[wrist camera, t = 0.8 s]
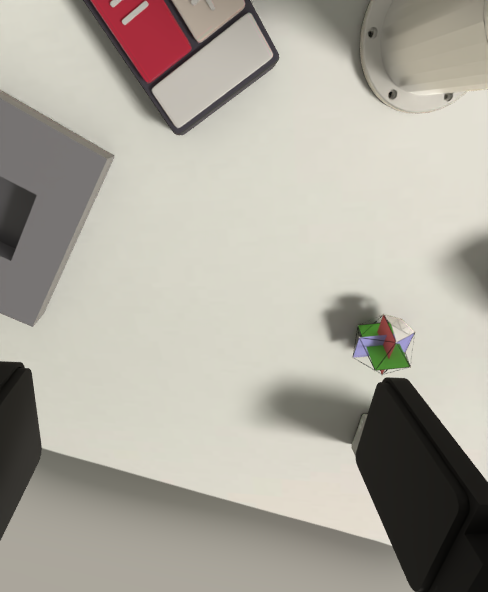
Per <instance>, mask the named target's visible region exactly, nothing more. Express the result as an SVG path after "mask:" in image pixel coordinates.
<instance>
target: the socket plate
mask: <svg viewBox="0 0 488 592" xmlns="http://www.w3.org/2000/svg"><path fill="white" fill-rule="evenodd" d="M113 159H114V155H112V154H110V153H109V152H107V151H105V150H103V149H102V148H100V147H98V146H96V145H95V144H93V143H91V142H90V141H88V140H86V139H84V138H83V137H81V136H79V135H77V134H76V133H74V132H72V131H70V130H69V129H67V128H65V127H63V126H62V125H60V124H58V123H57V122H55V121H53V120H51V119H50V118H48V117H46V116H44V115H43V114H41V113H39V112H37V111H36V110H34V109H32V108H31V107H29V106H27V105H25V104H24V103H22V102H20V101H18V100H17V99H15V98H13V97H11V96H10V95H8V94H6V93H5V92H3V91H1V90H0V313H1V314H3V315H6V316H8V317H11V318H13V319H15V320H18V321H20V322H22V323H25V324H27V325H30V326H32V327H33V326H34V325H35V323H36V322H37V321H38V320H39V319H40V318H41V316H42V315H43V314H44V312H45V310H46V307H47V305H48V303H49V301H50V298H51V296H52V294H53V292H54V290H55V287H56V285H57V283H58V281H59V279H60V276H61V274H62V272H63V270H64V267H65V265H66V263H67V261H68V259H69V256H70V254H71V252H72V250H73V247H74V245H75V243H76V241H77V239H78V236H79V234H80V232H81V230H82V227H83V225H84V223H85V221H86V219H87V216H88V214H89V212H90V210H91V207H92V205H93V203H94V201H95V199H96V196H97V194H98V192H99V190H100V187H101V185H102V183H103V181H104V179H105V176H106V174H107V172H108V170H109V168H110V165H111V163H112V161H113Z"/></svg>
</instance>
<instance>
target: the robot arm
mask: <svg viewBox="0 0 488 592" xmlns="http://www.w3.org/2000/svg"><path fill="white" fill-rule="evenodd" d="M368 32H371V33H372V36H371V38H369V36H368ZM360 56H361V64H362V68H363V72H364V75H365V78H366V80H367V82H368V84H369V86H370V88H371V89H372V91H373V92H374V93H375V95H376V96H377V97H378V98H379V99H380V100H381V101H382V102H383V103H385V104H386V105H387V106H389V107H391V108H393V109H395V110H398V111H401V112H405V113H429V112H432V111H436V110H439V109H442V108H444V107H446V106H448V105H450V104H452V103H454V102H455V101H456V100H458V99H459V98H460V97H462V96H463V95H464V94H465V93H466V92H467V91H477V90H488V0H371V1H370V4H369V6H368V9H367V11H366V14H365V17H364V21H363V25H362V29H361V38H360ZM389 92H390V93H391V97H390V98H389V97H388V94H389ZM444 95H446V97H445V99H444ZM41 449H42V447H41V439H40V431H39V424H38V416H37V409H36V402H35V394H34V387H33V379H32V373H31V370H30V369H29V368H25V367H24V365H23V363H21V362H2V361H0V540H1V538H2V536H3V534H4V532H5V530H6V528H7V526H8V524H9V522H10V519H11V518H12V516H13V513H14V511H15V509H16V507H17V505H18V503H19V501H20V499H21V497H22V495H23V493H24V491H25V489H26V487H27V485H28V483H29V481H30V478H31V477H32V475H33V473H34V470H35V468H36V466H37V464H38V462H39V460H40V456H41ZM356 463H357V466H358V468H359V471H360V473H361V475H362V477H363V480H364V482H365V484H366V487H367V489H368V491H369V493H370V496H371V498H372V500H373V503H374V505H375V507H376V510H377V512H378V514H379V516H380V519H381V521H382V523H383V526H384V528H385V530H386V532H387V535H388V537H389V539H390V542H391V544H392V546H393V549H394V551H395V553H396V555H397V558H398V560H399V562H400V565H401V567H402V569H403V571H404V574H405V576H406V578H407V581H408V583H409V585H410V586H411V588H412V589H413V590H414V591H415V592H488V482H487V481H486V479H485V478H484V477H483V476H482V474H481V473H480V472H479V470H478V469H477V468H476V467H475V465H474V464H473V463H472V461H471V460H470V459H469V458H468V456H467V455H466V454H465V452H464V451H463V450H462V448H461V447H460V446H459V445H458V443H457V442H456V441H455V439H454V438H453V437H452V436H451V434H450V433H449V432H448V430H447V429H446V428H445V427H444V425H443V424H442V423H441V421H440V420H439V419H438V418H437V416H436V415H435V414H434V412H433V411H432V410H431V408H430V407H429V406H428V405H427V403H426V402H425V401H424V399H423V398H422V397H421V396H420V394H419V393H418V392H417V390H416V389H415V388H414V387H413V385H412V384H411V383H410V381H409V380H408V379H405V378H385V379H384V380H383V381H382V382H380V383H378V384H377V386H376V389H375V393H374V396H373V399H372V402H371V405H370V409H369V412H368V415H367V418H366V421H365V425H364V428H363V431H362V434H361V437H360V441H359V444H358V447H357V450H356Z"/></svg>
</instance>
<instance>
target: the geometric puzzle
mask: <svg viewBox="0 0 488 592" xmlns="http://www.w3.org/2000/svg"><path fill="white" fill-rule="evenodd" d="M382 316H383V317H382ZM382 316H381V317H382V320H381V323H377V324H366V325H357V326H358V327H359V328H357V330H358V333H359V330H360V332H361V335H362V337H359V339H358V342H357V345H356V349H355V346H354V349H355V352H354V353H353V357H352V358H354V357H364V356H368V357H369V356H370V358H371V360H370V361H372V362H371V363H373V364H372V365H373V367H374V369H375V371H376V370H380V371H381V373H380V374H382V375H383V374H384V373H385V372H386V371H387V370H388V369H396V368H404V369H405V368H406V367H408V368H409V367H410V368H411V365H410V364H409V361H407V360H408V359H406V358H407V356H405V355H406V350H407V348H408V346H409V344H410V341H411V339H412V337H413V335H415V332H414V331H413V330H412V329H411V328H410V327H409V326H408V325H407V324H406V323H405V322H404V321H403V320H402V319H399V318H396V317H392V316H388V315H384V314H383V315H382ZM381 317H380V318H381ZM376 318H377V317H376ZM386 319H387V320H388V321H389V322H387V320H386ZM369 321H370V320H369ZM362 324H363V323H362ZM356 336H357V334H356ZM355 342H356V340H355ZM413 343H414V341H413ZM412 351H413V349H412ZM404 353H405V354H404ZM370 358H369V359H370ZM411 358H412V357H411ZM354 359H355V358H354ZM356 360H357V359H356ZM359 362H360V361H359ZM361 363H362V362H361ZM363 364H364V363H363ZM366 366H367V365H366ZM368 367H369V366H368ZM370 368H371V367H370ZM371 369H372V368H371ZM374 369H373V370H374ZM386 369H387V370H386ZM384 370H386V371H385V372H384ZM400 370H401V369H400ZM397 371H398V370H397ZM383 372H384V373H383ZM393 372H394V371H393ZM378 373H379V372H378ZM390 373H391V372H390ZM386 374H387V373H386Z"/></svg>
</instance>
